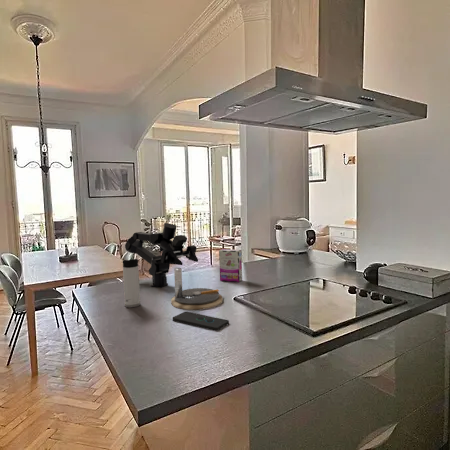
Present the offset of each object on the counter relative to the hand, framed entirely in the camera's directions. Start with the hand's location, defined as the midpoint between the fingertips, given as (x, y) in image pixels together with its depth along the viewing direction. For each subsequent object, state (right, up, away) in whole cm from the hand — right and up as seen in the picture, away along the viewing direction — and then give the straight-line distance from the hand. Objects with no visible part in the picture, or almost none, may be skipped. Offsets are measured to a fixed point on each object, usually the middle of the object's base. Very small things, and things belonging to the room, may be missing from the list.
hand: (190, 262), depth 158 cm
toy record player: (+4, -14, -8) cm, 17 cm away
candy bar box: (+19, -12, +26) cm, 34 cm away
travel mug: (-23, -17, -12) cm, 31 cm away
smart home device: (+7, -19, -32) cm, 38 cm away
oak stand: (+4, -16, -8) cm, 18 cm away
